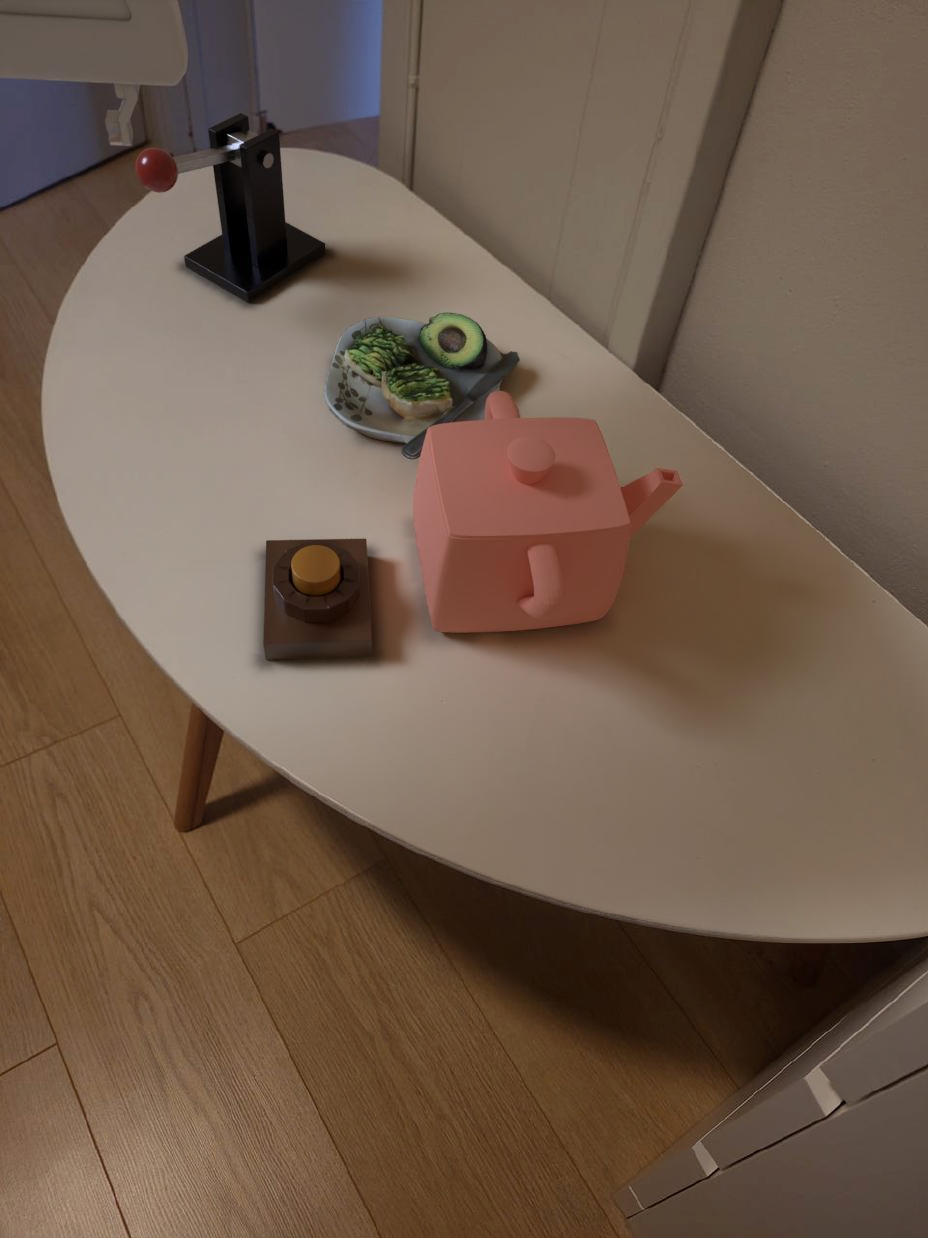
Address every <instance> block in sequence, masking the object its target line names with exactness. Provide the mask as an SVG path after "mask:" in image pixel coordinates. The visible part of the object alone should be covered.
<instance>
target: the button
mask: <svg viewBox="0 0 928 1238" xmlns="http://www.w3.org/2000/svg"><path fill="white" fill-rule="evenodd" d="M291 568H292V578H293V583H294V585H295V586H296V588H297V589H298V590H299V591H301V592H302V593H304V594H307V595H311V596H321V595H325V594H328V593H330V592H331V591H333V590H334V589H335V588H336V587H337V585H338V584H339V581H340V560H339V558H338V556H337V554H336V553H335V552H334V551H333V550H331V549H330V548H328V547H325V546H321V545H311V546H307V547H304V548H302V549H300V550H299V551H298V552H297V553H296V554H295V555H294V557H293V559H292V562H291Z"/></svg>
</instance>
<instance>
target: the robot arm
mask: <svg viewBox="0 0 928 1238" xmlns="http://www.w3.org/2000/svg"><path fill="white" fill-rule="evenodd" d="M179 4H180V3H179V1H178V0H0V79H12V80H13V79H14V80H30V81H31V80H32V81H57V82H73V83H75V82H77V83H96V84H113V87H114V93H115V97H116V98H117V99H121V103H120V107H119V109H107V111H106V117H105V120H104V126H105V130H106V133H107V134H108V138H107V140H108V143H109V146H120V147H121V146H123V147H132V146H133V140H134V131H133V125H132V120H131V117H132V115H133V112H134V109H135V108H136V105H137V102H138V101H139V95H140V90H141V89H140V88H141V86H158V87H175V86H177V85H178V84H179V83H180V82H181V80H182V79H183V77H184V76H185V74H186V73H187V71H188V64H189V47H188V41H187V35H186V30H185V25H184V21H183V16H182V12H181V8H180V5H179Z"/></svg>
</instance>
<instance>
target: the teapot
mask: <svg viewBox="0 0 928 1238" xmlns="http://www.w3.org/2000/svg"><path fill="white" fill-rule="evenodd" d="M605 441H606V440H605V439H604V436H603V434H602V431H601V429H600V426H599V424H598V422H597V420H595V419H592V418H585V417H521V415H520V411H519V409H518V406H517V404H516V402H515V400H514V398H513V397H512V395H511V394H510V393H508V392H507V391H504V390H499V391H494V392H492V393H490V394H489V396H488V398H487V400H486V405H485V420H475V421H462V422H451V423H443V424H437V425H433V426H430V427H429V428H428V429H427V433H426V436H425V440H424V443H423V447H422V451H421V455H420V457H419V458H418V459H419V460H418V465H417V469H416V475H415V481H414V490H413V497H412V498H413V499H412V514H413V516H412V517H413V524H414V534H415V540H416V541H415V542H416V548H417V554H418V555H417V556H418V561H419V562H418V563H419V568H420V572H421V579H422V583H423V590H424V594H425V601H426V605H427V611H428V615H429V619H430V623H431V626H432V628H433V630H434V631H436V632H440V633H490V632H491V633H492V632H493V633H494V632H515V631H516V632H517V631H518V632H519V631H528V630H529V631H530V630H537V629H546V628H555V627H561V626H562V627H563V626H569V625H576V624H577V625H578V624H583V623H589V622H594V621H599V620H601V619H603V618H604V617H605V615H607V613H608V612H609V610H610V609H611V608H612V607H613V605H614V603H615V601H616V598H617V594H618V593H619V590H620V589H619V588H620V586H621V583H622V579H623V576H624V572H625V568H626V563H627V557H628V552H629V546H630V540H631V538H632V537H633V536H634V535H635V534H637V532H638V531H639V530H640V529H641V528H642V527H643V526H644V525H645V524H646V523H647V522H648V521H649V520H650V519H651V518H652V517H653V516H654V515H656V513H657V512H658V511H659V510H661V508H662V507H663V506H664V505H665V504H666V503H667V502H668V501H669V500H670V499H671V498H672V497H674V495H675V494H677V492H679V490H680V489H681V488H682V487H683V485H684V484H683V481H682V479H681V476H680V473H679V471H678V470H677V469H676V470H675V469H669V468H660V467H655V469H654V470H652V471H651V472H649V473H647V474H645V475H643V476H640V477H639V478H636V479H635V480H633V481H631V482H629V483H627V484H625V485H623V486H621V485H620V481H619V478H618V475H617V473H616V471H615V467H614V465H613V461H612V459H611V455H610V452H609V450H608V448H607V447H608V446H607V444H606V442H605Z"/></svg>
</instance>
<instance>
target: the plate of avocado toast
mask: <svg viewBox="0 0 928 1238" xmlns="http://www.w3.org/2000/svg"><path fill="white" fill-rule="evenodd" d="M520 360H521V359H520V357H519V355H518V352H517V351H509V352H507V353H503V352H501V351H500V350H499V349H498V347H496V344H494V343H493V342H492V341H491V340H489V339H488V338H487V335H486V333H485V331H484V330H483V328H482V326H480V324H479V323H478V322H477V321H475V320H474V319H472V317H469V316H466V315H464V314H461V313H457V312H439V313H438V314H436V315H435V316H430V317H429V318H428V323H425V322H421V321H417V320H410V319H405V318H400V317H392V316H376V317H375V316H374V317H368V318H365V319H363V320H361V321H359V322H356V323H355V324H352V325H350V326H349V327H348V328H346V329H345V330H344V331H343V333H342V334H341V336H340V337H339V339H338V341H337V344H336V346H335V350H334V352H333V356H332V360H331V364H330V366H329V371H328V373H327V375H326V380H325V385H324V386H325V387H324V393H323V398H324V401H325V403H326V405H327V407H328V410H329V412H331V414H332V415H333V416H334V417H335V418H336V419H337V420H338V421H339V422H340V423H341V424H342V425H344V426H345V427H347V428H349V429H351V430H354V431H357V432H359V433H361V434H363V435H365V436H367V437H368V438H371V439H375V440H378V441H384V442H385V441H386V442H392V443H393V442H394V443H402V444H404V445H403V446H402V447H401V449H400V451H401V455H402V456H403V457H404V458H406V459H407V460H417V459H420V455H421V451H422V447H423V443H424V440H425V436H426V433H427V429H428V428H429V427H430V426H433V425H437V424H443V423H451V422H462V421H475V420H485V405H486V400H487V398H488V396H489V394H490V393H492V392H494V391H500V389H501V387H500V386H501V383H502V382H503V380H504V379H506V378H507V377H508V376H509V375H510V374H511V373H512V372H513V371H514V370H515V368H516V367H517V366H518V364H519V363H520Z"/></svg>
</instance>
